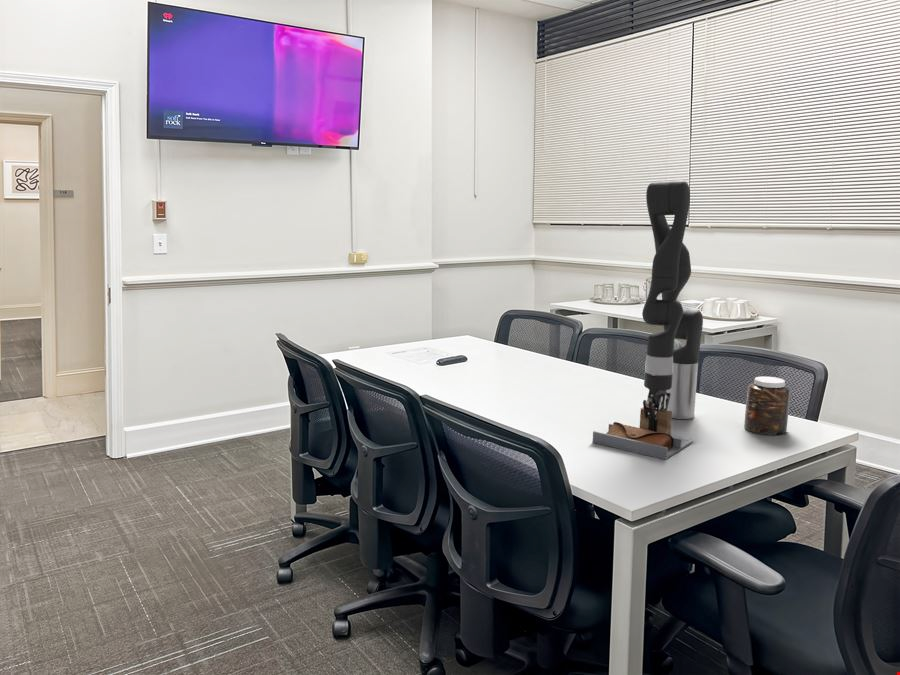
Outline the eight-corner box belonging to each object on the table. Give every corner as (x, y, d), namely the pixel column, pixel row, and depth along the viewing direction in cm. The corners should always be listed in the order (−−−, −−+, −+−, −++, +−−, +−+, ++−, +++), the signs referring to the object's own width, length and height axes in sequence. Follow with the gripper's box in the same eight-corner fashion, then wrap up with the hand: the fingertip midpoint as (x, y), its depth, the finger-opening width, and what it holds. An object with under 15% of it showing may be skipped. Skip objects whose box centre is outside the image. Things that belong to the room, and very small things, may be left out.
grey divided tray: (622, 427, 217) (624, 402, 216) (693, 442, 204) (695, 415, 203) (592, 442, 203) (593, 415, 202) (665, 459, 190) (667, 431, 189)
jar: (794, 436, 211) (799, 384, 209) (753, 435, 211) (758, 384, 208) (776, 423, 223) (780, 375, 220) (737, 423, 223) (741, 374, 220)
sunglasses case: (598, 439, 203) (605, 416, 204) (608, 446, 208) (614, 424, 209) (660, 453, 191) (667, 429, 193) (669, 461, 197) (676, 437, 198)
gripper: (656, 365, 214) (652, 422, 217) (635, 373, 203) (631, 433, 206) (681, 368, 209) (677, 427, 212) (661, 377, 198) (657, 439, 202)
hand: (654, 430), depth 209 cm, fingers closed on grey divided tray, 3 cm apart
